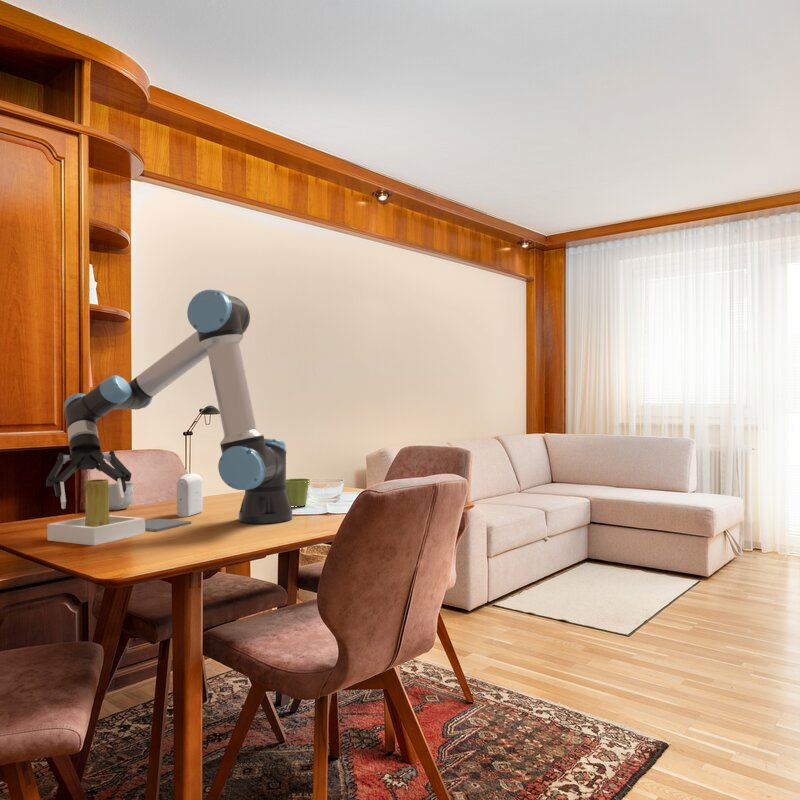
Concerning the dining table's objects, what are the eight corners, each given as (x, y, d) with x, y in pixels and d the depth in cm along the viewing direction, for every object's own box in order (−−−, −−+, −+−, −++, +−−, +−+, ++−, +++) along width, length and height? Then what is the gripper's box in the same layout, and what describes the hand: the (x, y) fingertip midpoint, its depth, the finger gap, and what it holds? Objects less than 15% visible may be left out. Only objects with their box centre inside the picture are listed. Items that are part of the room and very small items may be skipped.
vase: (78, 538, 171) (78, 481, 171) (97, 534, 176) (96, 478, 176) (97, 540, 168) (97, 482, 169) (115, 535, 174) (115, 479, 174)
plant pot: (277, 508, 218) (277, 481, 218) (287, 504, 228) (287, 478, 228) (305, 509, 217) (305, 481, 217) (314, 504, 226) (314, 478, 226)
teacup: (124, 511, 214) (124, 486, 214) (90, 511, 214) (90, 486, 214) (142, 505, 228) (142, 481, 228) (110, 505, 228) (110, 481, 228)
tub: (145, 533, 176) (145, 518, 176) (94, 545, 162) (94, 528, 162) (100, 529, 183) (100, 514, 183) (47, 540, 168) (47, 524, 168)
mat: (191, 523, 191) (191, 521, 191) (156, 531, 179) (156, 529, 179) (155, 520, 196) (155, 518, 196) (120, 528, 185) (120, 525, 185)
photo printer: (188, 517, 202) (187, 475, 202) (174, 517, 203) (174, 475, 203) (204, 512, 212) (204, 472, 212) (192, 511, 213) (191, 472, 213)
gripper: (130, 448, 195) (142, 508, 182) (31, 452, 181) (37, 516, 169) (134, 430, 190) (147, 490, 178) (33, 433, 177) (39, 497, 164)
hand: (93, 503), depth 173 cm, fingers open, 13 cm apart
